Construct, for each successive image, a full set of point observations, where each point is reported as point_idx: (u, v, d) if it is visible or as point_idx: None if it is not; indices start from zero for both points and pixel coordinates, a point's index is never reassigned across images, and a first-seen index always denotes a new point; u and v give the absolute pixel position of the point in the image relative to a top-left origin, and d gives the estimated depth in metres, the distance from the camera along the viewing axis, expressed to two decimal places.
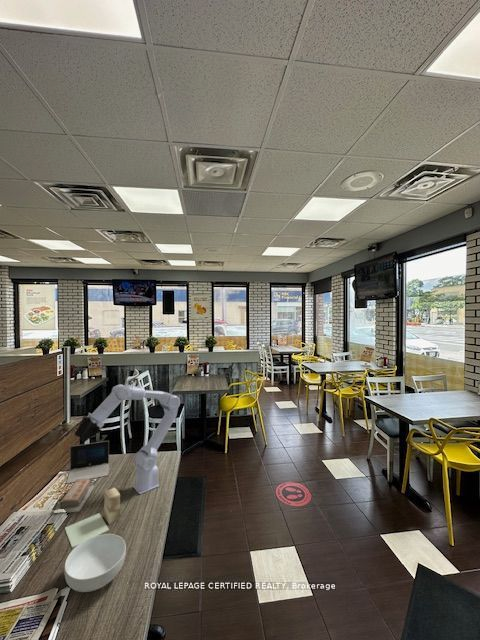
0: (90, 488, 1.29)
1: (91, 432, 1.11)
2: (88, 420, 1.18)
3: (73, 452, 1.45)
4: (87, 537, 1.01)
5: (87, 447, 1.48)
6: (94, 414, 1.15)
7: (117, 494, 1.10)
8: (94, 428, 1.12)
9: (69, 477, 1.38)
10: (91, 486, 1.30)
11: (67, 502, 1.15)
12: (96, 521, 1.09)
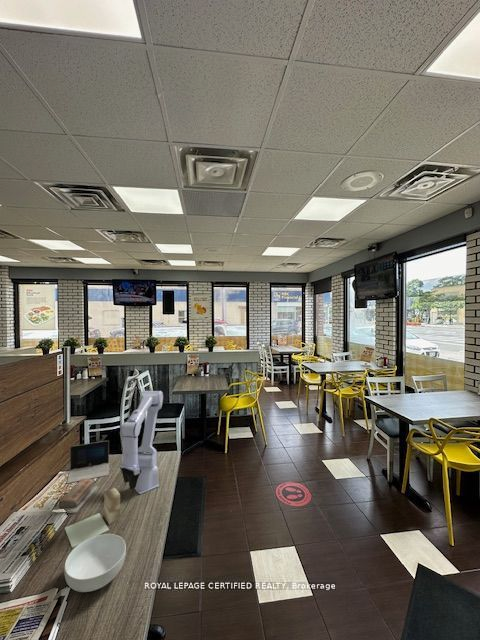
0: (93, 489, 1.28)
1: (134, 477, 1.13)
2: None
3: (73, 452, 1.45)
4: (87, 537, 1.01)
5: (87, 447, 1.48)
6: (125, 464, 1.13)
7: (117, 494, 1.10)
8: None
9: (69, 477, 1.38)
10: (94, 487, 1.30)
11: (66, 503, 1.15)
12: (96, 521, 1.09)
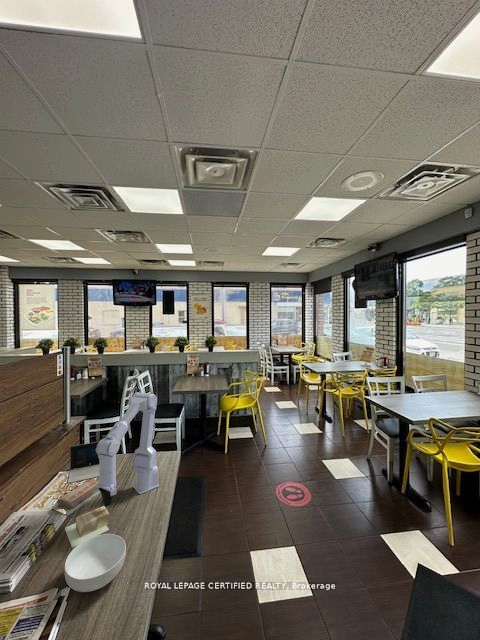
0: (97, 492, 1.26)
1: (109, 494, 1.09)
2: None
3: (73, 452, 1.45)
4: (87, 537, 1.01)
5: (87, 446, 1.48)
6: (101, 484, 1.07)
7: (79, 527, 1.01)
8: None
9: (70, 477, 1.38)
10: None
11: (63, 502, 1.16)
12: None
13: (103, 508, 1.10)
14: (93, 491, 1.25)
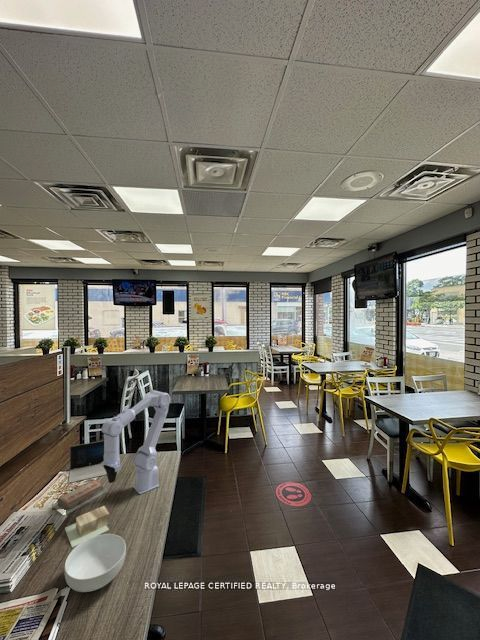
0: (98, 494, 1.25)
1: (113, 472, 1.18)
2: (109, 466, 1.18)
3: (73, 452, 1.45)
4: (87, 537, 1.01)
5: (87, 446, 1.48)
6: (106, 461, 1.15)
7: (79, 527, 1.01)
8: (113, 468, 1.17)
9: (70, 477, 1.38)
10: (101, 492, 1.26)
11: (62, 502, 1.16)
12: None
13: (103, 508, 1.10)
14: (94, 493, 1.23)
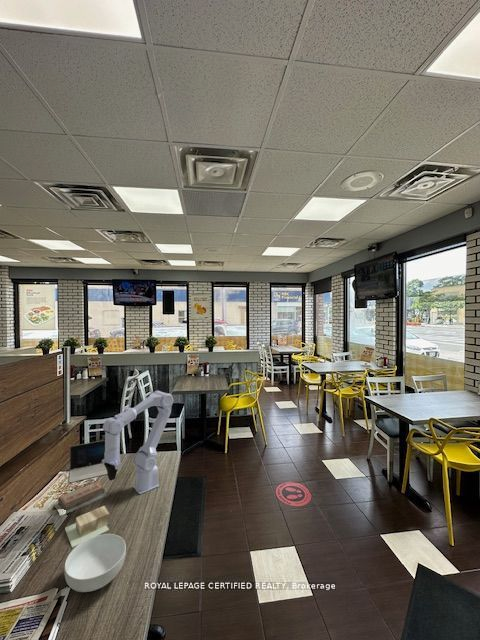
0: (98, 497, 1.23)
1: (114, 469, 1.19)
2: (110, 463, 1.19)
3: (73, 452, 1.45)
4: (87, 537, 1.01)
5: (87, 446, 1.48)
6: (107, 459, 1.17)
7: (79, 527, 1.01)
8: (113, 465, 1.19)
9: (70, 477, 1.39)
10: (102, 495, 1.24)
11: (61, 501, 1.16)
12: None
13: (103, 508, 1.10)
14: (93, 495, 1.22)
